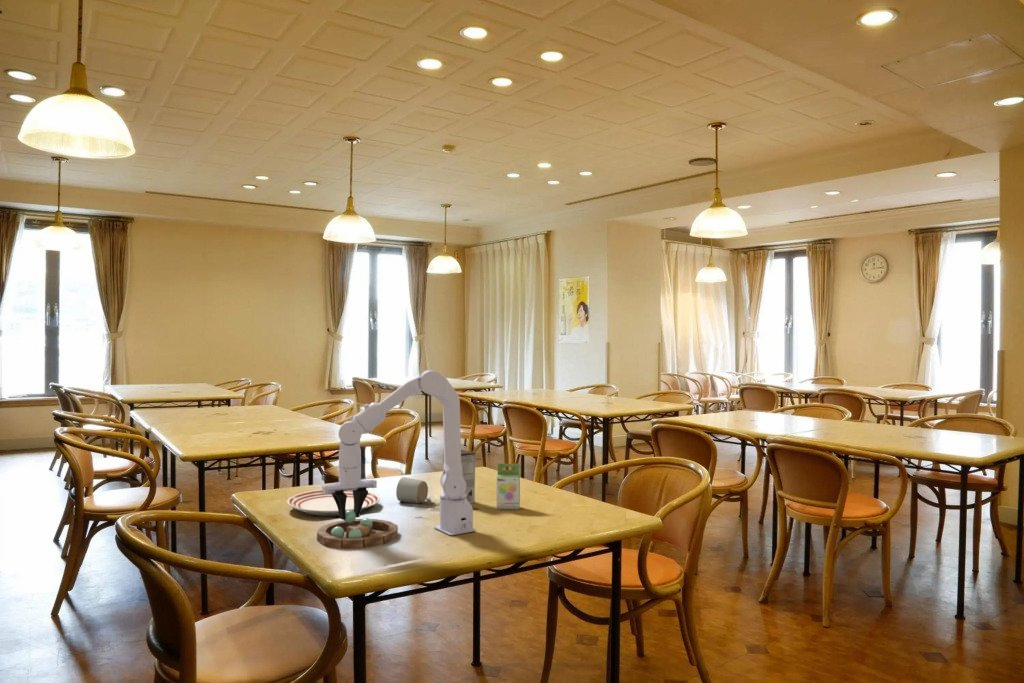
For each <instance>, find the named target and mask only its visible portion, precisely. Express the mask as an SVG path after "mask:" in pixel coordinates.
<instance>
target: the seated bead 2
mask: <svg viewBox="0 0 1024 683" xmlns="http://www.w3.org/2000/svg"><path fill="white" fill-rule="evenodd" d="M348 538H362V533H361V531H360V530H358V529H353V530H351V531H350V533H349V535H348Z"/></svg>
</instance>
